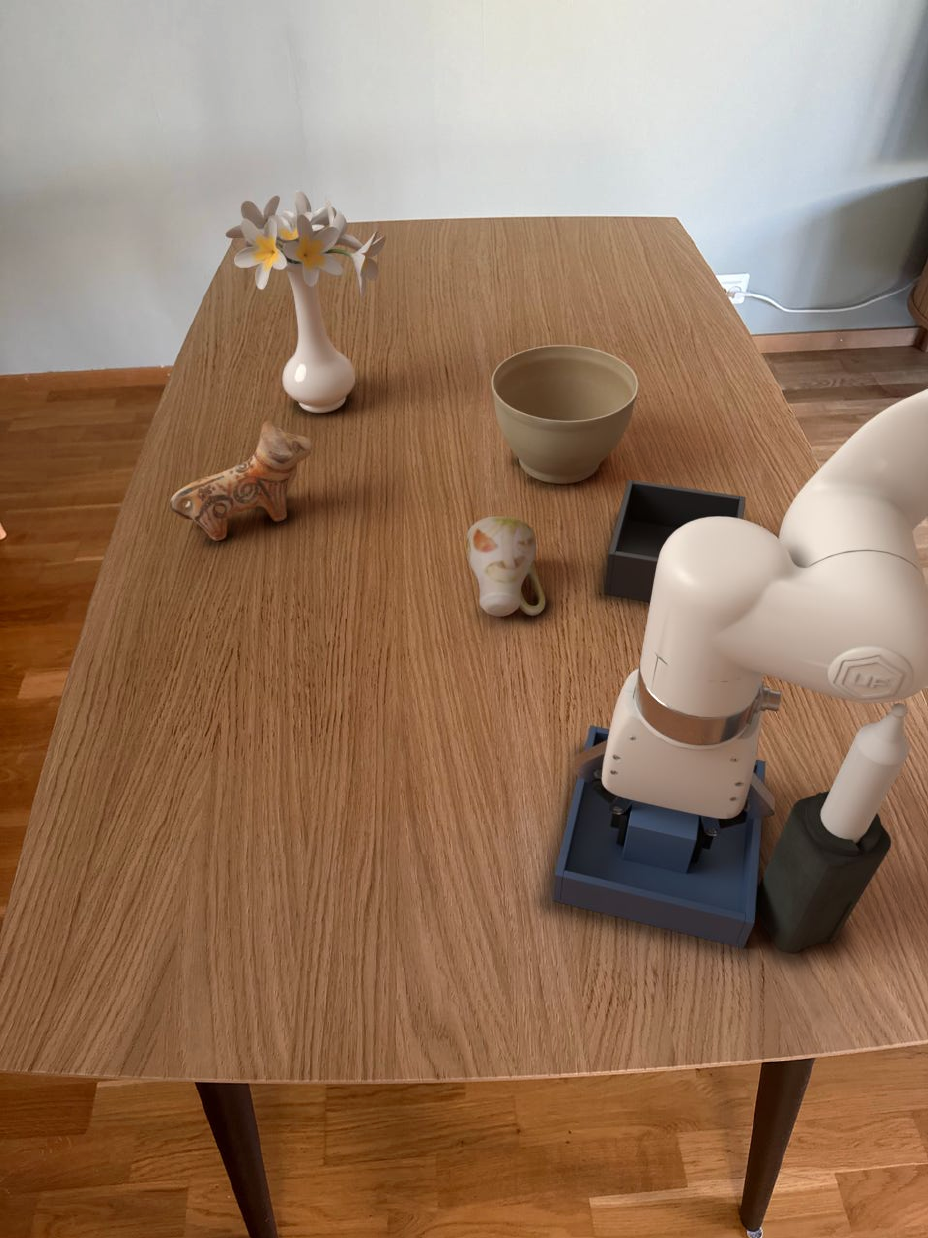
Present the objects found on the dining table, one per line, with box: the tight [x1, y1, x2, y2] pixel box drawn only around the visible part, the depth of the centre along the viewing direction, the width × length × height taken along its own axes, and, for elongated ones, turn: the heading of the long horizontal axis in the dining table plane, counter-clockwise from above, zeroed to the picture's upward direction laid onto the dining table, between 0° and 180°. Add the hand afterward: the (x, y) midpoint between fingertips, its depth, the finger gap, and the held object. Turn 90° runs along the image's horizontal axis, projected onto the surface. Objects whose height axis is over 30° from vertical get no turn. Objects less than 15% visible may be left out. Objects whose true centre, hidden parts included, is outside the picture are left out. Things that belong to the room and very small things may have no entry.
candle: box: [755, 702, 910, 955], centre depth 59 cm, size 5×5×25 cm
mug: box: [465, 516, 546, 618], centre depth 92 cm, size 8×10×10 cm
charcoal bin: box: [603, 479, 747, 603], centre depth 93 cm, size 12×12×6 cm
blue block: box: [622, 800, 700, 874], centre depth 71 cm, size 5×5×5 cm
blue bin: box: [552, 724, 766, 949], centre depth 71 cm, size 14×14×4 cm
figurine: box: [169, 419, 313, 542], centre depth 99 cm, size 7×16×10 cm, turn 117°
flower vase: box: [225, 189, 387, 414], centre depth 110 cm, size 13×18×25 cm
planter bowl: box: [490, 344, 640, 485], centre depth 104 cm, size 16×16×11 cm
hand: (658, 836), depth 72 cm, fingers closed on blue block, 5 cm apart
